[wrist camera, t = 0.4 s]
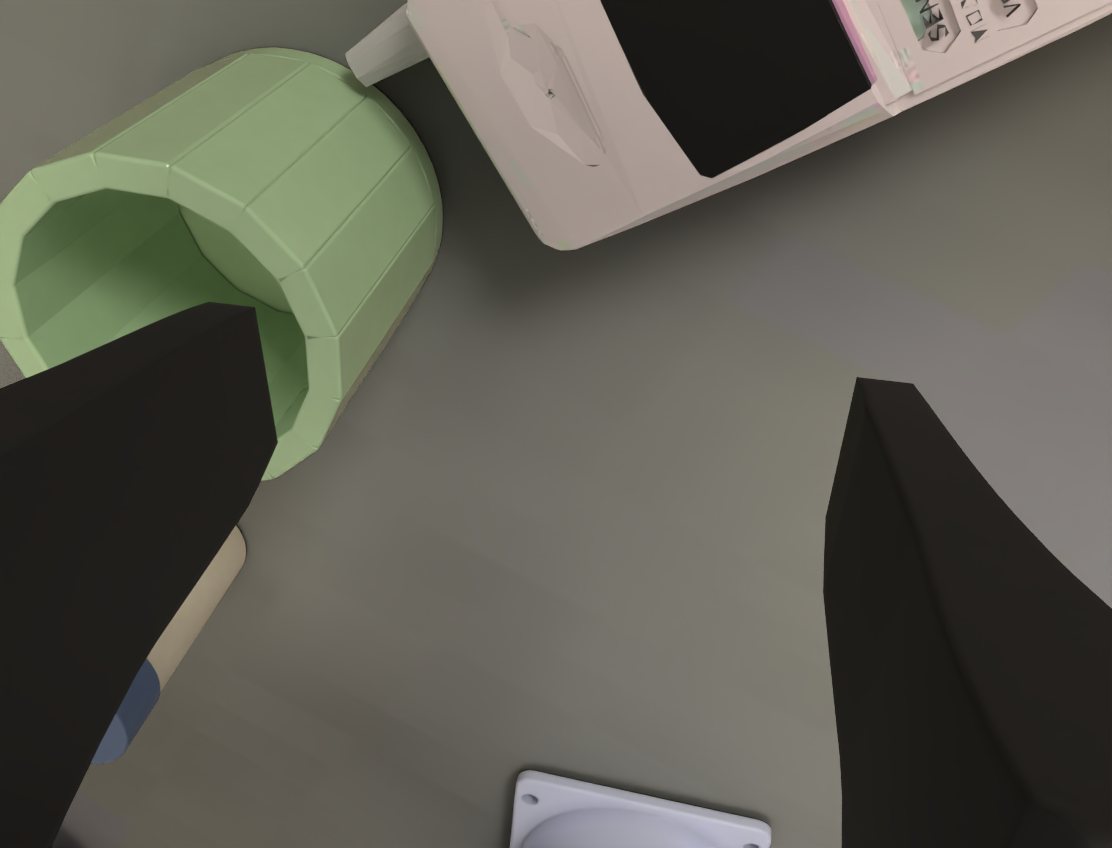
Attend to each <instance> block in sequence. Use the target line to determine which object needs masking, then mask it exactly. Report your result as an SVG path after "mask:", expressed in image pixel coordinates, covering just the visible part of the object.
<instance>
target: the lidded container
mask: <svg viewBox="0 0 1112 848" xmlns="http://www.w3.org/2000/svg"><path fill="white" fill-rule="evenodd" d="M245 557H246V546H245V541H244V539H243V536H242V534H241V532H240V530H239V529H238V527H237V526H235V527H234V529H233V530H232V532H231V533H230V535H229V536H228V538H227V539H226V541H225V542H224V544H223V545H222V547H221V548H220V550H219V551H218V553H217V554H216V556H215V557H214V559H213V560H212V562H211V563H210V565H209V566H208V568H207V569H206V570H205V572H204V573H203V575H202V576H201V578H200V579H199V581H198V582H197V584H196V585H195V587H194V588H193V589H192V591H191V592H190V594H189V595H188V597H187V598H186V600H185V601H184V603H183V604H182V606H181V607H180V608H179V610H178V611H177V613H176V614H175V616H174V617H173V619H172V620H171V622H170V623H169V625H168V626H167V627H166V629H165V630H164V632H163V633H162V635H161V636H160V638H159V639H158V641H157V642H156V644H155V645H154V647H153V649H152V650H151V652H150V653H149V655H148V657H147V658H146V660H145V662H144V663H143V665H142V666H141V668H140V670H139V671H138V673H137V675H136V677H135V678H134V680H133V682H132V684H131V686H130V688H129V690H128V692H127V694H126V696H125V697H124V699H123V701H122V703H121V705H120V707H119V709H118V711H117V713H116V714H115V716H114V718H113V720H112V722H111V724H110V726H109V728H108V730H107V731H106V733H105V735H104V737H103V739H102V741H101V743H100V745H99V747H98V749H97V751H96V753H95V755H94V757H93V759H92V762H91V764H104V763H108V762H111V761H114V760H116V759H117V758H119V757H120V756H121V755H122V754H123V753H124V752H125V751H126V749H127V748H128V746H129V744H130V743H131V741H132V740H133V738H134V737H135V735H136V734H137V732H138V730H139V729H140V727H141V726H142V724H143V723H144V721H145V720H146V718H147V717H148V715H149V713H150V712H151V710H152V709H153V707H154V706H155V704H156V702H157V701H158V699H159V696H160V693H161V691H162V690H163V688H164V686H165V685H166V683H167V682H168V680H169V679H170V677H171V676H172V674H173V673H174V671H175V669H176V668H177V666H178V665H179V663H180V662H181V660H182V659H183V657H184V656H185V654H186V653H187V651H188V649H189V648H190V646H191V645H192V643H193V642H194V640H195V639H196V637H197V636H198V634H199V632H200V631H201V629H202V628H203V626H204V625H205V623H206V622H207V620H208V619H209V617H210V615H211V614H212V612H213V611H214V609H215V608H216V606H217V605H218V603H219V602H220V600H221V598H222V597H223V595H224V594H225V592H226V591H227V589H228V588H229V586H230V585H231V583H232V581H233V580H234V578H235V577H236V575H237V574H238V572H239V571H240V569H241V568H242V566H243V564H244V561H245Z"/></svg>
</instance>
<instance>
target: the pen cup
mask: <svg viewBox="0 0 1112 848" xmlns="http://www.w3.org/2000/svg"><path fill="white" fill-rule="evenodd" d="M442 227H443V211H442V200H441V194H440V189H439V184H438V180H437V177H436V174H435V171H434V168H433V165H432V162H431V160H430V158H429V156H428V154H427V151H426V149H425V147H424V145H423V143H422V142H421V140H420V138H419V137H418V135H417V133H416V132H415V130H414V128H413V127H412V126H411V124H410V123H409V122H408V120H407V119H406V118H405V117H404V115H403V114H402V113H401V111H400V110H399V109H398V108H397V107H396V106H395V105H394V104H393V103H392V102H391V101H390V100H389V99H388V98H387V97H386V96H385V95H384V94H383V93H382V92H381V91H379V90H378V89H377V88H376V87H375V86H373V85H370V86H368V87H366V86H365V85H363V84H362V83H361V82H360V81H359V80H358V79H357V78H356V76H355V74H354V73H353V71H352V70H350V69H348V68H346V67H344V66H342V65H340V64H338V63H336V62H334V61H332V60H329V59H326V58H324V57H321V56H318V55H315V54H312V53H309V52H304V51H299V50H294V49H287V48H274V47H269V48H255V49H249V50H244V51H240V52H236V53H233V54H230V55H228V56H225V57H223V58H220V59H218V60H216V61H215V62H213V63H211V64H210V65H207V66H204V67H201V68H198V69H196V70H194V71H193V72H191V73H189V74H188V75H186V76H184V77H183V78H181V79H179V80H178V81H176V82H174V83H173V84H171V85H169V86H168V87H166V88H165V89H163V90H161V91H160V92H158V93H156V94H155V95H153V96H151V97H150V98H148V99H146V100H145V101H143V102H141V103H140V104H138V105H137V106H135V107H133V108H132V109H130V110H128V111H127V112H125V113H123V114H122V115H120V116H118V117H117V118H115V119H113V120H112V121H110V122H108V123H107V124H105V125H104V126H102V127H100V128H99V129H97V130H95V131H94V132H92V133H90V134H89V135H87V136H85V137H84V138H82V139H80V140H79V141H77V142H76V143H74V144H72V145H71V146H69V147H67V148H66V149H64V150H62V151H61V152H59V153H57V154H56V155H54V156H52V157H51V158H49V159H47V160H46V161H44V162H43V163H41V164H39V165H38V166H36V167H34V168H33V169H31V170H30V171H28V172H27V173H26V174H25V175H24V176H23V177H22V179H21V180H20V181H19V182H18V183H17V184H16V185H15V187H14V188H13V189H12V190H11V191H10V192H9V193H8V195H7V196H6V197H5V198H4V199H3V200H2V201H1V203H0V337H1V339H0V340H1V342H2V344H3V345H4V347H5V348H6V350H7V351H8V353H9V354H10V356H11V357H12V359H13V360H14V362H15V363H16V365H17V366H18V368H19V369H20V371H21V372H22V374H23V375H24V377H25V378H28V377H30V376H33V375H35V374H38V373H40V372H42V371H45V370H47V369H50V368H52V367H55V366H57V365H59V364H62V363H64V362H66V361H68V360H71V359H73V358H75V357H77V356H80V355H82V354H84V353H86V352H89V351H91V350H93V349H95V348H98V347H100V346H102V345H104V344H106V343H109V342H111V341H113V340H115V339H118V338H120V337H122V336H124V335H127V334H129V333H131V332H133V331H136V330H138V329H140V328H142V327H145V326H147V325H149V324H151V323H154V322H156V321H158V320H161V319H163V318H165V317H168V316H170V315H173V314H175V313H178V312H180V311H183V310H185V309H188V308H191V307H194V306H197V305H200V304H203V303H207V302H216V303H224V304H233V305H241V306H250V307H255V310H256V316H257V321H258V327H259V333H260V339H261V345H262V351H263V357H264V363H265V369H266V375H267V381H268V387H269V393H270V399H271V405H272V410H273V416H274V422H275V428H276V434H277V440H278V444H277V446H276V448H275V450H274V453H273V455H272V457H271V459H270V462H269V464H268V466H267V468H266V471H265V473H264V475H263V477H262V479H261V481H266V480H271V479H273V478H274V479H275V478H278V477H279V476H280V475H282V474H283V473H285V472H286V471H288V470H289V469H291V468H292V467H294V466H295V465H297V464H298V463H300V462H301V461H302V460H304V459H305V458H307V457H308V456H310V455H311V454H313V453H314V452H316V451H317V450H318V448H319V447H320V446H321V445H322V443H323V442H324V440H325V439H326V437H327V436H328V434H329V432H330V431H331V429H332V428H333V426H334V425H335V423H336V422H337V420H338V419H339V417H340V415H341V414H342V412H343V411H344V409H345V408H346V406H347V405H348V403H349V402H350V400H351V398H352V397H353V395H354V394H355V392H356V391H357V389H358V388H359V386H360V385H361V383H362V381H363V380H364V378H365V377H366V375H367V374H368V372H369V371H370V369H371V368H372V366H373V364H374V363H375V361H376V360H377V358H378V357H379V355H380V354H381V352H382V351H383V349H384V347H385V346H386V344H387V343H388V341H389V340H390V338H391V337H392V335H393V334H394V332H395V330H396V329H397V327H398V326H399V324H400V323H401V321H402V320H403V318H404V317H405V315H406V313H407V312H408V310H409V309H410V307H411V306H412V304H413V303H414V301H415V299H416V297H417V295H418V293H419V291H420V289H421V287H422V285H423V284H424V282H425V280H426V279H427V277H428V275H429V274H430V272H431V270H432V268H433V265H434V263H435V260H436V258H437V255H438V251H439V247H440V243H441V239H442Z"/></svg>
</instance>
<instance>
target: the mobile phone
mask: <svg viewBox="0 0 1112 848" xmlns="http://www.w3.org/2000/svg"><path fill="white" fill-rule="evenodd" d="M1111 13H1112V0H408V2H407V3H405V4H404V5H403V6H402V7H400V8H399V9H398V10H397V11H396V12H395V13H393V14H392V15H391V16H390V17H389V18H387V19H386V20H385V21H384V22H383V23H381V24H380V25H379V26H378V27H377V28H375V29H374V30H373V31H372V32H371V33H369V34H368V35H367V36H366V37H365V38H364V39H362V40H361V41H360V42H359V43H358V44H356V45H355V46H354V47H353V48H352V49H350V50H349V51H348V52H347V53H346V54H345V56H346V59H347V61H348V64H349V66H350V68H351V69H352V71H353V73H354V74H355V76H356V78H357V79H358V80H359V81H360V82H361V83H362V84H363V85H365V86H366V87H368V86H370V85H372V84H374V83H376V82H378V81H380V80H382V79H385V78H387V77H389V76H391V75H393V74H395V73H397V72H399V71H401V70H404V69H406V68H408V67H410V66H412V65H414V64H416V63H418V62H421V61H423V60H425V59H427V58H429V57H430V59H431V61H432V62H433V64H434V66H435V67H436V69H437V71H438V72H439V74H440V76H441V77H442V79H443V81H444V82H445V84H446V86H447V87H448V89H449V91H450V92H451V94H452V96H453V97H454V99H455V101H456V102H457V104H458V106H459V107H460V109H461V111H462V112H463V114H464V116H465V117H466V119H467V121H468V122H469V124H470V126H471V127H472V129H473V131H474V132H475V134H476V136H477V137H478V139H479V141H480V142H481V144H482V146H483V147H484V149H485V151H486V152H487V154H488V156H489V157H490V159H491V161H492V162H493V164H494V166H495V167H496V169H497V171H498V172H499V174H500V176H501V177H502V179H503V181H504V182H505V184H506V186H507V187H508V189H509V191H510V192H511V194H512V196H513V197H514V199H515V201H516V202H517V204H518V206H519V207H520V209H521V211H522V212H523V214H524V216H525V217H526V219H527V221H528V222H529V224H530V226H531V227H532V229H533V231H534V232H535V234H536V236H537V237H538V238H539V239H540V240H541V241H542V242H543V244H546V245H548V246H550V247H553V248H555V249H558V250H576V249H578V248H581V247H583V246H586V245H589V244H591V243H594V242H596V241H599V240H602V239H604V238H607V237H609V236H612V235H615V234H617V233H620V232H622V231H625V230H628V229H630V228H633V227H635V226H638V225H640V224H643V223H645V222H648V221H650V220H652V219H655V218H657V217H660V216H662V215H665V214H667V213H669V212H672V211H674V210H677V209H679V208H682V207H684V206H686V205H689V204H691V203H694V202H696V201H699V200H701V199H703V198H706V197H708V196H711V195H713V194H716V193H718V192H721V191H723V190H725V189H728V188H730V187H733V186H735V185H738V184H740V183H742V182H745V181H747V180H750V179H752V178H755V177H757V176H759V175H761V174H764V173H766V172H768V171H770V170H773V169H775V168H777V167H780V166H782V165H784V164H786V163H789V162H791V161H793V160H795V159H798V158H800V157H802V156H804V155H807V154H809V153H811V152H813V151H816V150H818V149H820V148H823V147H825V146H827V145H829V144H832V143H834V142H836V141H838V140H841V139H843V138H845V137H847V136H850V135H852V134H854V133H857V132H859V131H861V130H863V129H866V128H868V127H870V126H872V125H875V124H877V123H879V122H881V121H884V120H886V119H888V118H890V117H893V116H895V115H896V114H898V113H900V112H902V111H904V110H906V109H909V108H911V107H913V106H915V105H917V104H919V103H922V102H924V101H926V100H928V99H930V98H933V97H935V96H937V95H939V94H941V93H944V92H946V91H948V90H950V89H952V88H955V87H957V86H959V85H961V84H963V83H965V82H967V81H970V80H972V79H974V78H976V77H978V76H980V75H983V74H985V73H987V72H989V71H991V70H993V69H995V68H998V67H1000V66H1002V65H1004V64H1006V63H1008V62H1010V61H1013V60H1015V59H1017V58H1019V57H1021V56H1023V55H1026V54H1028V53H1030V52H1032V51H1034V50H1036V49H1038V48H1041V47H1043V46H1045V45H1047V44H1049V43H1051V42H1053V41H1056V40H1058V39H1060V38H1062V37H1064V36H1066V35H1069V34H1071V33H1073V32H1075V31H1077V30H1079V29H1081V28H1083V27H1085V26H1087V25H1089V24H1091V23H1093V22H1095V21H1097V20H1099V19H1101V18H1103V17H1105V16H1107V15H1109V14H1111Z"/></svg>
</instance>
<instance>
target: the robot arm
mask: <svg viewBox="0 0 1112 848" xmlns="http://www.w3.org/2000/svg"><path fill="white" fill-rule="evenodd" d="M277 444H278V440H277V434H276V428H275V422H274V416H273V410H272V405H271V399H270V393H269V387H268V381H267V375H266V369H265V363H264V357H263V351H262V345H261V339H260V333H259V327H258V321H257V316H256V310H255V307H250V306H241V305H233V304H224V303H216V302H207V303H203V304H200V305H197V306H194V307H191V308H188V309H185V310H183V311H180V312H178V313H175V314H173V315H170V316H168V317H165V318H163V319H161V320H158V321H156V322H154V323H151V324H149V325H147V326H145V327H142V328H140V329H138V330H136V331H133V332H131V333H129V334H127V335H124V336H122V337H120V338H118V339H115V340H113V341H111V342H109V343H106V344H104V345H102V346H100V347H98V348H95V349H93V350H91V351H89V352H86V353H84V354H82V355H80V356H77V357H75V358H73V359H71V360H68V361H66V362H64V363H62V364H59V365H57V366H55V367H52V368H50V369H47V370H45V371H42V372H40V373H38V374H35V375H33V376H30V377H28V378H25V379H23V380H20V381H18V382H15V383H13V384H11V385H8V386H6V387H3V388H1V389H0V848H51V847H52V844H53V842H54V840H55V838H56V835H57V833H58V831H59V829H60V826H61V824H62V822H63V820H64V817H65V815H66V813H67V811H68V809H69V807H70V805H71V803H72V801H73V798H74V796H75V794H76V792H77V790H78V788H79V786H80V784H81V782H82V780H83V778H84V776H85V774H86V772H87V770H88V768H89V766H90V764H91V762H92V759H93V757H94V755H95V753H96V751H97V749H98V747H99V745H100V743H101V741H102V739H103V737H104V735H105V733H106V731H107V730H108V728H109V726H110V724H111V722H112V720H113V718H114V716H115V714H116V713H117V711H118V709H119V707H120V705H121V703H122V701H123V699H124V697H125V696H126V694H127V692H128V690H129V688H130V686H131V684H132V682H133V680H134V678H135V677H136V675H137V673H138V671H139V670H140V668H141V666H142V665H143V663H144V662H145V660H146V658H147V657H148V655H149V653H150V652H151V650H152V649H153V647H154V645H155V644H156V642H157V641H158V639H159V638H160V636H161V635H162V633H163V632H164V630H165V629H166V627H167V626H168V625H169V623H170V622H171V620H172V619H173V617H174V616H175V614H176V613H177V611H178V610H179V608H180V607H181V606H182V604H183V603H184V601H185V600H186V598H187V597H188V595H189V594H190V592H191V591H192V589H193V588H194V587H195V585H196V584H197V582H198V581H199V579H200V578H201V576H202V575H203V573H204V572H205V570H206V569H207V568H208V566H209V565H210V563H211V562H212V560H213V559H214V557H215V556H216V554H217V553H218V551H219V550H220V548H221V547H222V545H223V544H224V542H225V541H226V539H227V538H228V536H229V535H230V533H231V532H232V530H233V529H234V527H235V526H236V524H237V523H238V521H239V520H240V518H241V517H242V515H243V514H244V512H245V510H246V509H247V507H248V505H249V503H250V501H251V499H252V497H253V495H254V493H255V491H256V489H257V487H258V485H259V483H260V481H261V479H262V477H263V475H264V473H265V471H266V468H267V466H268V464H269V462H270V459H271V457H272V455H273V453H274V450H275V448H276V446H277ZM823 593H824V604H825V615H826V625H827V636H828V646H829V656H830V666H831V675H832V685H833V695H834V704H835V714H836V724H837V734H838V743H839V753H840V767H841V785H842V848H1112V609H1111V608H1110V607H1109V606H1108V605H1107V604H1106V603H1105V602H1104V601H1102V600H1101V599H1100V598H1099V597H1098V596H1097V595H1096V594H1095V593H1093V592H1092V591H1091V590H1090V589H1089V588H1088V587H1087V586H1086V585H1085V584H1083V583H1082V582H1081V581H1080V580H1079V579H1078V578H1077V577H1076V576H1074V575H1073V574H1072V573H1071V572H1070V571H1069V570H1068V569H1067V568H1066V567H1065V566H1064V565H1063V564H1062V563H1061V562H1060V561H1059V560H1058V559H1057V558H1056V557H1055V556H1054V555H1053V554H1052V553H1051V552H1050V551H1049V550H1048V549H1047V548H1046V547H1045V546H1044V545H1043V544H1042V543H1041V542H1040V541H1039V540H1038V539H1037V537H1036V536H1035V535H1034V534H1033V533H1032V532H1031V531H1030V530H1029V529H1028V528H1027V527H1026V526H1025V525H1024V524H1023V523H1022V522H1021V520H1020V519H1019V518H1018V517H1017V516H1016V515H1015V514H1014V513H1013V512H1012V511H1011V509H1010V508H1009V507H1008V506H1007V505H1006V504H1005V503H1004V501H1003V500H1002V499H1001V498H1000V497H999V496H998V495H997V493H996V492H995V491H994V490H993V488H992V487H991V486H990V485H989V484H988V482H987V481H986V480H985V479H984V477H983V476H982V475H981V474H980V473H979V471H978V470H977V469H976V467H975V466H974V465H973V464H972V462H971V461H970V460H969V458H968V457H967V456H966V455H965V453H964V452H963V451H962V449H961V448H960V447H959V445H958V444H957V443H956V441H955V440H954V439H953V437H952V436H951V435H950V433H949V432H948V430H947V429H946V428H945V426H944V425H943V424H942V422H941V421H940V419H939V418H938V417H937V415H936V414H935V413H934V411H933V410H932V408H931V407H930V406H929V404H928V403H927V402H926V400H925V399H924V398H923V396H922V395H921V394H920V392H919V391H918V390H917V388H916V387H915V386H914V384H911V383H902V382H893V381H885V380H876V379H868V378H859V377H857V379H856V383H855V388H854V393H853V397H852V402H851V406H850V411H849V415H848V420H847V424H846V429H845V433H844V438H843V442H842V447H841V451H840V456H839V460H838V465H837V469H836V474H835V478H834V483H833V487H832V492H831V496H830V501H829V505H828V510H827V514H826V524H825V550H824V586H823ZM770 843H771V828H770V827H769V825H768V824H766V823H765V822H763V821H760V820H757V819H752V818H748V817H743V816H739V815H734V814H730V813H725V812H721V811H716V810H711V809H707V808H702V807H698V806H693V805H689V804H684V803H680V802H675V801H670V800H666V799H661V798H657V797H652V796H648V795H643V794H639V793H634V792H629V791H625V790H620V789H616V788H611V787H607V786H602V785H598V784H593V783H588V782H584V781H579V780H575V779H570V778H566V777H561V776H557V775H552V774H547V773H543V772H538V771H533V770H527V771H523V772H521V773H520V774H519V776H518V778H517V782H516V787H515V797H514V808H513V818H512V829H511V840H510V848H769V846H770Z"/></svg>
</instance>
